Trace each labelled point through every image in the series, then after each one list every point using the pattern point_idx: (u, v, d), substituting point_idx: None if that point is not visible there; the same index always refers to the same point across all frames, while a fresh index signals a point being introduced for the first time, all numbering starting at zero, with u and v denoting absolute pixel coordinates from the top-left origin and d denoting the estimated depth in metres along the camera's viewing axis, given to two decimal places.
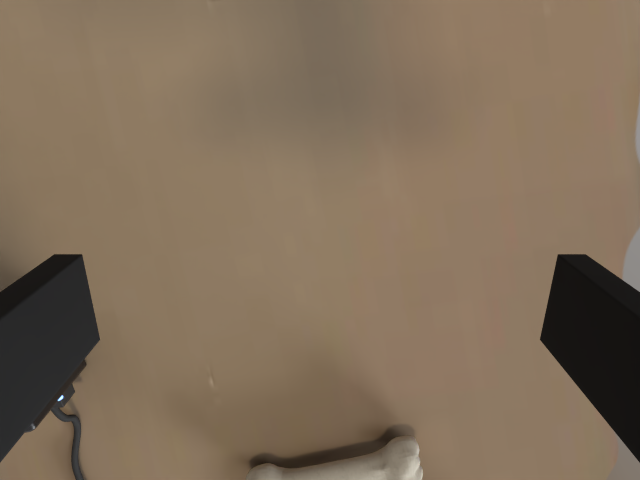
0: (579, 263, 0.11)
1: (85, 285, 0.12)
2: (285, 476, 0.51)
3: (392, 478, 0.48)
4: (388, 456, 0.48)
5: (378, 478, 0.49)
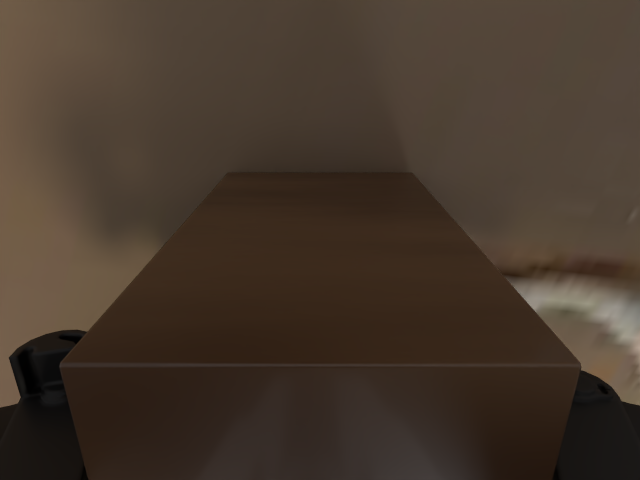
0: None
1: None
2: None
3: None
4: None
5: None
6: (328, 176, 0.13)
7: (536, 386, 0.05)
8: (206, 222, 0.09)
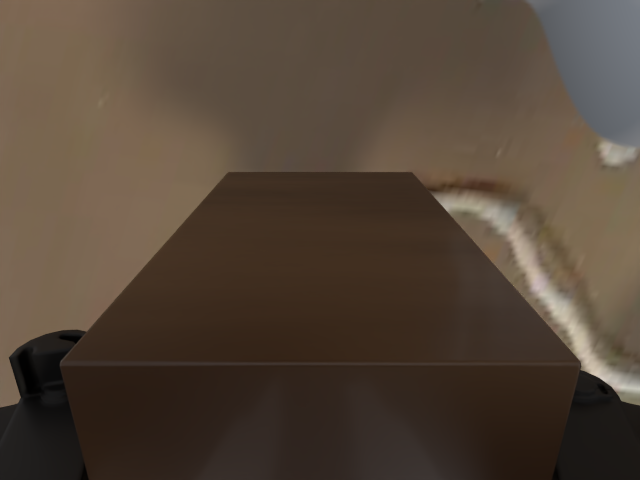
0: None
1: None
2: None
3: None
4: None
5: None
6: (328, 176, 0.13)
7: (536, 385, 0.05)
8: (206, 221, 0.09)
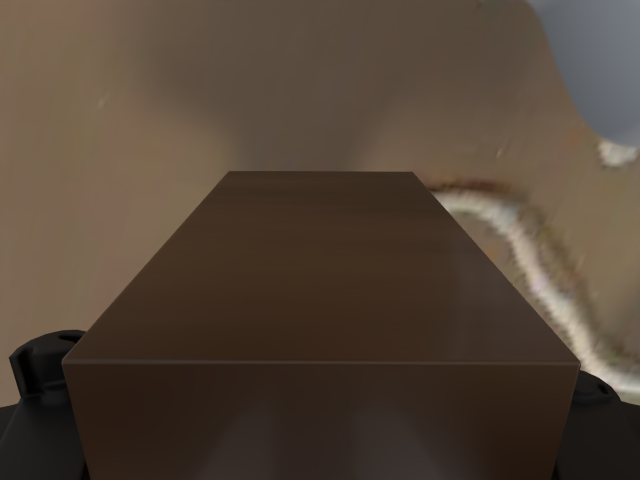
0: None
1: None
2: None
3: None
4: None
5: None
6: (328, 175, 0.13)
7: (536, 385, 0.05)
8: (207, 220, 0.09)
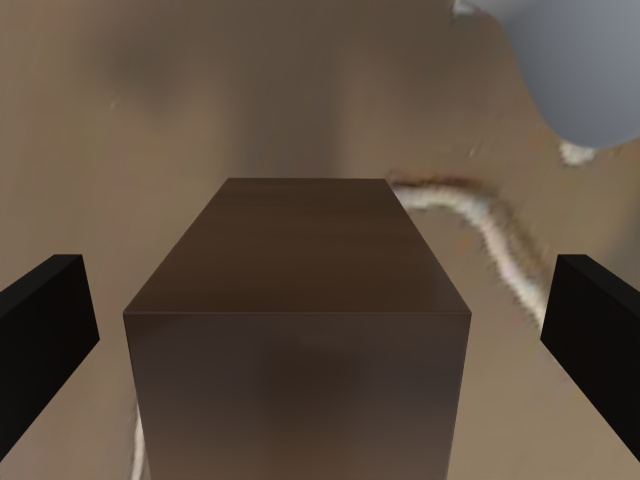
0: (579, 263, 0.11)
1: (85, 284, 0.12)
2: None
3: None
4: None
5: None
6: (313, 182, 0.15)
7: (442, 328, 0.07)
8: (213, 219, 0.12)
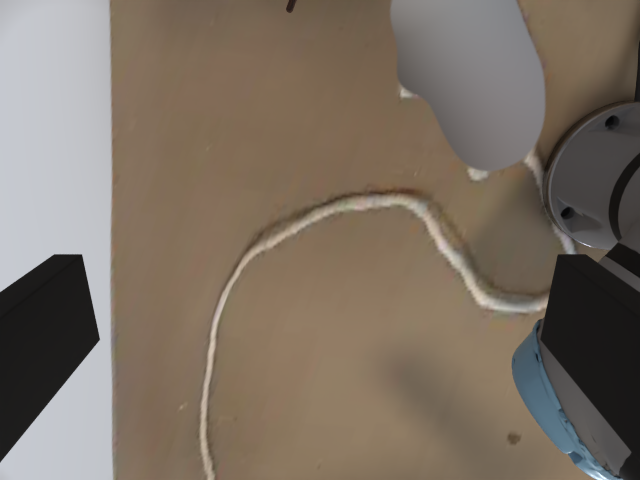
0: (579, 263, 0.11)
1: (85, 285, 0.12)
2: None
3: None
4: None
5: None
6: None
7: None
8: None
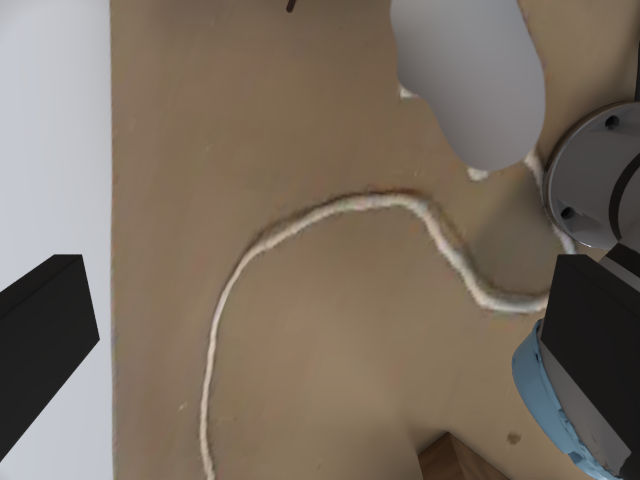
0: (579, 263, 0.11)
1: (85, 285, 0.12)
2: None
3: None
4: None
5: None
6: (435, 446, 0.60)
7: None
8: None
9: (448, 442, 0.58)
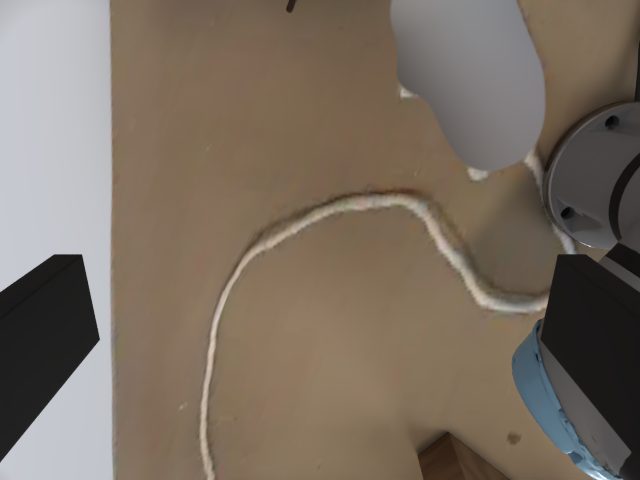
0: (579, 263, 0.11)
1: (85, 285, 0.12)
2: None
3: None
4: None
5: None
6: (435, 446, 0.60)
7: None
8: None
9: (448, 442, 0.58)
